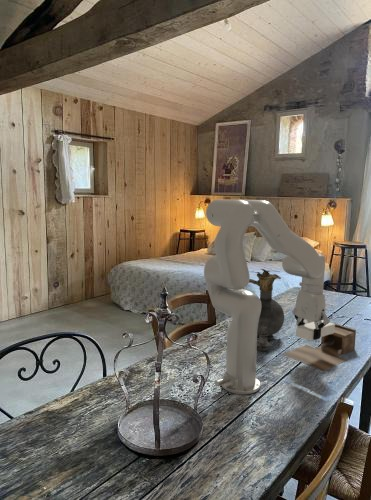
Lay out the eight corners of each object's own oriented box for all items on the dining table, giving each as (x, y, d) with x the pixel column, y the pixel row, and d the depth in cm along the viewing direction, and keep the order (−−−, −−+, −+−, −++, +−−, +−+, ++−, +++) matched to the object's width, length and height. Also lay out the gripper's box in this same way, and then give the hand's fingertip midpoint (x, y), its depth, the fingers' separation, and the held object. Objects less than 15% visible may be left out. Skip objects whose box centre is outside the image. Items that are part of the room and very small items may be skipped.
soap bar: (309, 340, 144) (310, 331, 143) (295, 335, 148) (296, 326, 148) (334, 332, 153) (334, 323, 152) (320, 328, 157) (320, 319, 157)
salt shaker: (270, 356, 155) (271, 325, 153) (254, 354, 156) (255, 324, 154) (270, 350, 161) (271, 320, 159) (255, 348, 162) (256, 319, 160)
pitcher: (276, 345, 165) (280, 273, 161) (235, 335, 176) (236, 267, 171) (286, 337, 174) (289, 268, 169) (246, 328, 185) (248, 263, 180)
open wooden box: (323, 373, 140) (324, 348, 139) (281, 356, 155) (282, 333, 153) (364, 355, 156) (365, 332, 155) (323, 340, 170) (324, 320, 169)
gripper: (286, 284, 150) (283, 331, 153) (327, 294, 136) (323, 345, 139) (298, 282, 155) (295, 327, 157) (339, 291, 141) (335, 341, 143)
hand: (308, 335), depth 148 cm, fingers closed on soap bar, 6 cm apart
